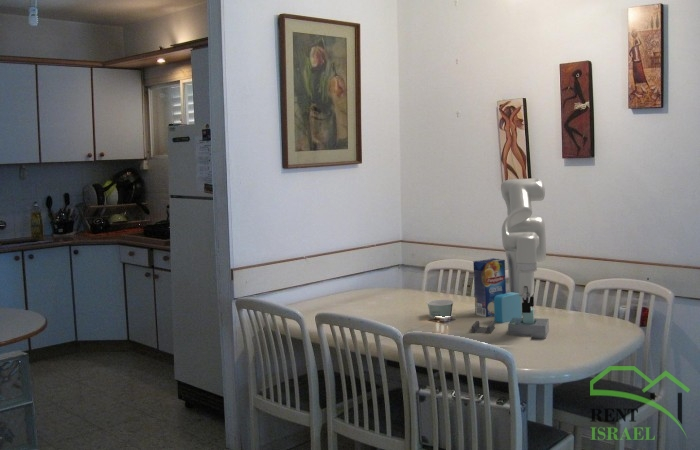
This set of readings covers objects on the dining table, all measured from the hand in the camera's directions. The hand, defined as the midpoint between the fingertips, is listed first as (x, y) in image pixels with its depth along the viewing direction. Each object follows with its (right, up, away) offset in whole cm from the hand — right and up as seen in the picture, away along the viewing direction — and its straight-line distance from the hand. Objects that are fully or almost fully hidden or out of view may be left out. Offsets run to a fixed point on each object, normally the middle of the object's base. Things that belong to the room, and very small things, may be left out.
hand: (528, 309), depth 287 cm
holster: (-16, -10, +7) cm, 20 cm away
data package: (-3, -8, +22) cm, 24 cm away
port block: (0, -10, 0) cm, 10 cm away
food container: (-29, -8, +40) cm, 50 cm away
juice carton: (-7, -7, +39) cm, 41 cm away
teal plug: (0, -10, 0) cm, 10 cm away
